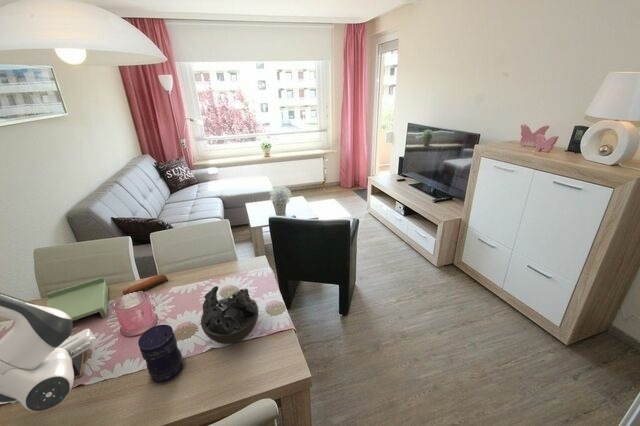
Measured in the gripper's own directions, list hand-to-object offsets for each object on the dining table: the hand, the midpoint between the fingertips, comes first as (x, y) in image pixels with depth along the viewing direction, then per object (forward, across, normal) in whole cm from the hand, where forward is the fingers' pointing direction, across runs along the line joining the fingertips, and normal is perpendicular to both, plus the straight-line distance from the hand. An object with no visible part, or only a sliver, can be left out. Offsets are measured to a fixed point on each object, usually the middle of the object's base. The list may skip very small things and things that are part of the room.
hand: (49, 350), depth 84 cm
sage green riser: (+46, -8, +5) cm, 47 cm away
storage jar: (-10, -21, +23) cm, 33 cm away
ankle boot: (+16, -1, +13) cm, 21 cm away
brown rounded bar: (+42, -32, +8) cm, 54 cm away
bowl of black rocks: (-13, -44, +26) cm, 53 cm away
